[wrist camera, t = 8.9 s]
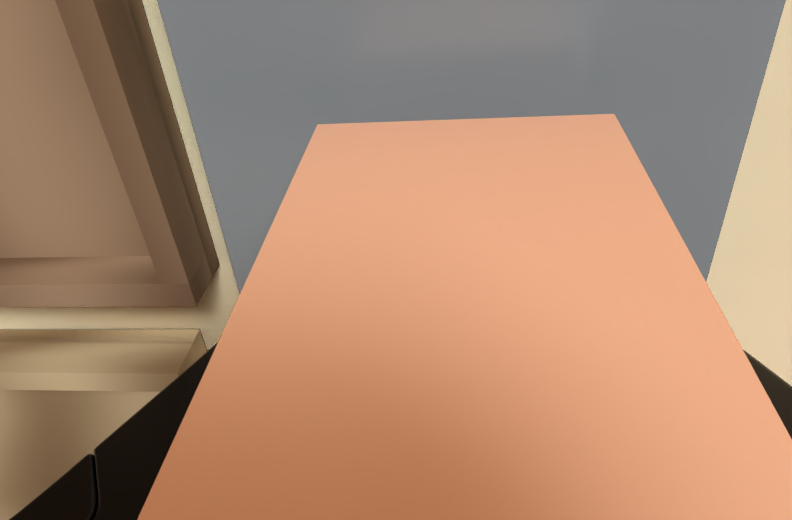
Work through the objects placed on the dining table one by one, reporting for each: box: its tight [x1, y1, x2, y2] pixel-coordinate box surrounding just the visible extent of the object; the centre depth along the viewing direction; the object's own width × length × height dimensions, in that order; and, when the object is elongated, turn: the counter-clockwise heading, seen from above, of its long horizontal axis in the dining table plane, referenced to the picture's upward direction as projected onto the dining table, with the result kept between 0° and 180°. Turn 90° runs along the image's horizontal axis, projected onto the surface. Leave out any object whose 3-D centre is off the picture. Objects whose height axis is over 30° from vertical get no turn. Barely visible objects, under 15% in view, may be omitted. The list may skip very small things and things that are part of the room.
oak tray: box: [0, 330, 207, 520], centre depth 18 cm, size 11×11×2 cm
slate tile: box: [157, 0, 786, 293], centre depth 11 cm, size 9×9×2 cm
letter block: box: [137, 114, 792, 520], centre depth 7 cm, size 4×4×6 cm
